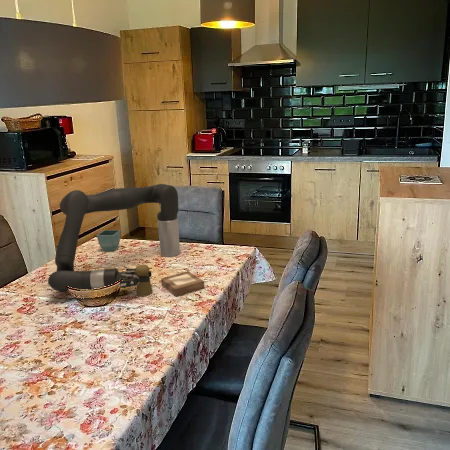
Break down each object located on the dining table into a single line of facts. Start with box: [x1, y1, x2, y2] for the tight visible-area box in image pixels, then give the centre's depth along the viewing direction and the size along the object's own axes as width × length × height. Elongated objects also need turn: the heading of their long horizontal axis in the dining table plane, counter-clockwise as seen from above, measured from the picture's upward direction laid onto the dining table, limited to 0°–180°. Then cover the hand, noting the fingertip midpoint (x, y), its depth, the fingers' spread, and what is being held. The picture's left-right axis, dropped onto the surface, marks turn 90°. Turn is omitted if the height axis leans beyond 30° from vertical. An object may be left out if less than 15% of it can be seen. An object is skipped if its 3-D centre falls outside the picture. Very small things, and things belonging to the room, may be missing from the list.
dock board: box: [160, 270, 205, 298], centre depth 170 cm, size 13×12×3 cm
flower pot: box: [96, 229, 121, 252], centre depth 217 cm, size 9×9×9 cm
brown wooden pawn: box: [134, 264, 154, 297], centre depth 166 cm, size 6×6×11 cm
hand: (150, 276), depth 165 cm, fingers closed on brown wooden pawn, 4 cm apart
